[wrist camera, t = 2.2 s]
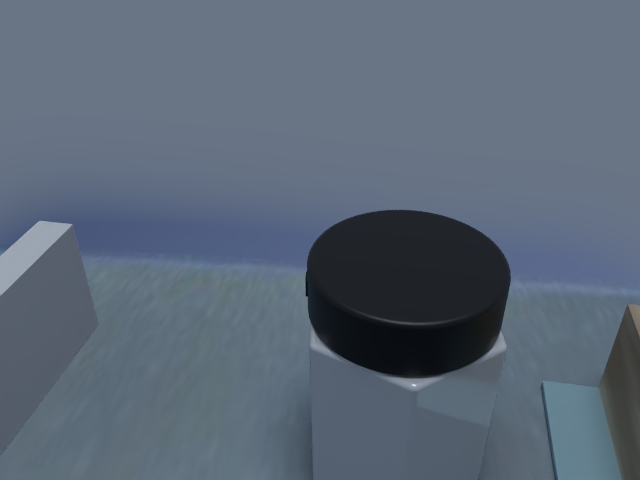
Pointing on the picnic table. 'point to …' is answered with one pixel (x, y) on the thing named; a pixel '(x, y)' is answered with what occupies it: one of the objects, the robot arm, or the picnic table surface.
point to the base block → (624, 394)
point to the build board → (579, 433)
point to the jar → (404, 346)
